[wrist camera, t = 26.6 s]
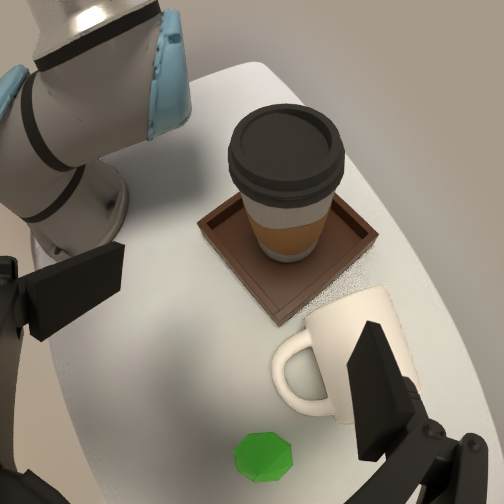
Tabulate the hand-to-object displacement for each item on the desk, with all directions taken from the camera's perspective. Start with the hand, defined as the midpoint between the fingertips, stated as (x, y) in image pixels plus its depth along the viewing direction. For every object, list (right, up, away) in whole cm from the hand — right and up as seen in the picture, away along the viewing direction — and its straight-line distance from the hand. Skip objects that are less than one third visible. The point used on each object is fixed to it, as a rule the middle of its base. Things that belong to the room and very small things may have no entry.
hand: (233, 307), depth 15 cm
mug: (+9, -8, +13) cm, 18 cm away
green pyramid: (+2, -17, +10) cm, 20 cm away
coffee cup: (+5, +4, +18) cm, 19 cm away
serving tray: (+5, +4, +18) cm, 20 cm away
